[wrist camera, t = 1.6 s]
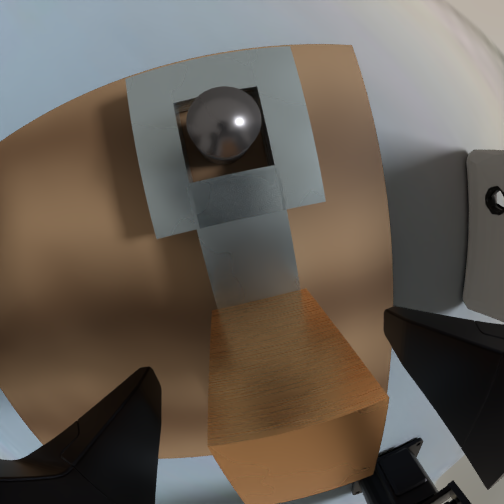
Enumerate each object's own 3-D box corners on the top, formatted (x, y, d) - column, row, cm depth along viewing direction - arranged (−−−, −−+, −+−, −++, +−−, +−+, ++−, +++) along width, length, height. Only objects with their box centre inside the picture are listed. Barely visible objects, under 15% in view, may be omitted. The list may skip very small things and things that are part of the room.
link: (135, 89, 8) (37, -9, 2) (282, 59, 8) (357, -62, 2) (237, 441, 12) (250, 548, 6) (335, 416, 13) (382, 513, 6)
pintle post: (253, 158, 10) (267, 147, 6) (202, 169, 9) (194, 163, 6) (243, 111, 9) (252, 80, 6) (193, 121, 9) (180, 95, 6)
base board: (377, 399, 14) (384, 408, 14) (50, 440, 13) (46, 448, 12) (342, 53, 10) (351, 45, 9) (-57, 197, 8) (-67, 198, 7)
